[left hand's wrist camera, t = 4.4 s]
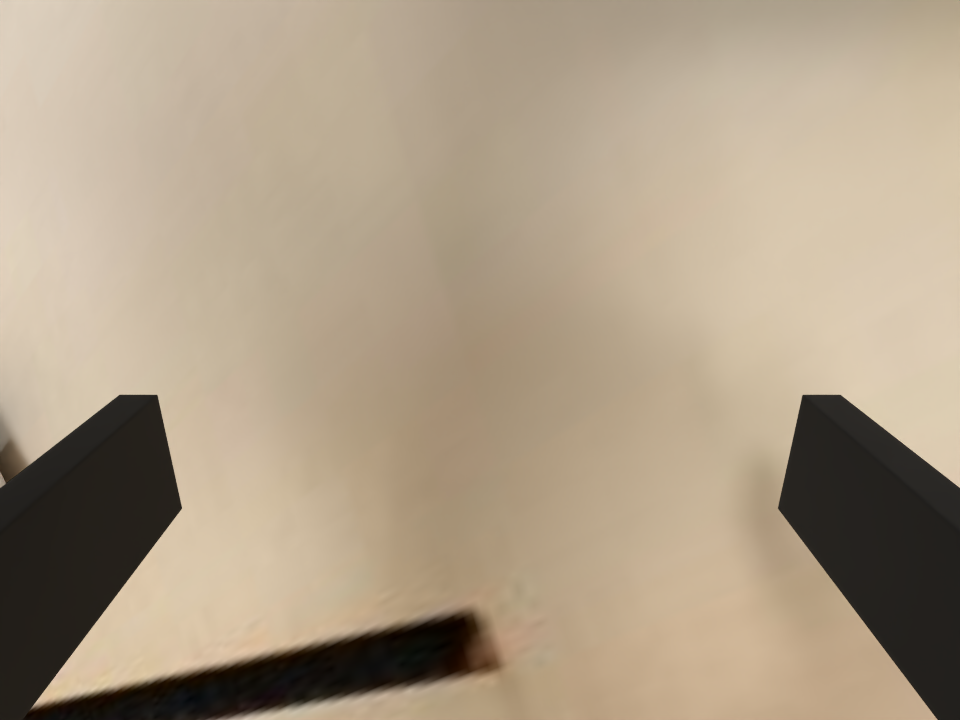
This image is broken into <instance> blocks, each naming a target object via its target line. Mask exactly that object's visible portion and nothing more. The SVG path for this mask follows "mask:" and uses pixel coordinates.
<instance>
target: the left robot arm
mask: <svg viewBox="0 0 960 720" xmlns="http://www.w3.org/2000/svg"><path fill="white" fill-rule="evenodd" d="M181 509H182V506H181V502H180V497H179V492H178V488H177V483H176V479H175V474H174V469H173V465H172V460H171V456H170V451H169V446H168V442H167V437H166V433H165V428H164V423H163V419H162V414H161V410H160V405H159V400H158V396H157V395H119V396H118V397H116V398H115V399H114V400H112V401H111V402H110V403H109V404H107V405H106V406H105V407H103V408H102V409H101V410H100V411H98V412H97V413H96V414H95V415H93V416H92V417H91V418H89V419H88V420H87V421H86V422H84V423H83V424H82V425H80V426H79V427H78V428H77V429H75V430H74V431H73V432H71V433H70V434H69V435H68V436H66V437H65V438H64V439H62V440H61V441H60V442H59V443H57V444H56V445H55V446H53V447H52V448H51V449H50V450H48V451H47V452H46V453H44V454H43V455H42V456H41V457H39V458H38V459H37V460H36V461H34V462H33V463H32V464H30V465H29V466H28V467H27V468H25V469H24V470H23V471H21V472H20V473H19V474H18V475H16V476H15V477H14V478H12V479H11V480H10V481H9V482H7V483H6V484H5V485H3V486H2V487H1V488H0V720H22V719H23V718H24V717H25V715H26V714H27V713H28V712H29V710H30V709H31V708H32V706H33V705H34V704H35V702H36V701H37V700H38V698H39V697H40V696H41V694H42V693H43V692H44V690H45V689H46V688H47V686H48V685H49V684H50V682H51V681H52V680H53V678H54V677H55V676H56V674H57V673H58V672H59V670H60V669H61V668H62V667H63V665H64V664H65V663H66V661H67V660H68V659H69V657H70V656H71V655H72V653H73V652H74V651H75V649H76V648H77V647H78V645H79V644H80V643H81V641H82V640H83V639H84V637H85V636H86V635H87V633H88V632H89V631H90V629H91V628H92V627H93V625H94V624H95V623H96V622H97V620H98V619H99V618H100V616H101V615H102V614H103V612H104V611H105V610H106V608H107V607H108V606H109V604H110V603H111V602H112V600H113V599H114V598H115V596H116V595H117V594H118V592H119V591H120V590H121V588H122V587H123V586H124V584H125V583H126V582H127V580H128V579H129V578H130V577H131V575H132V574H133V573H134V571H135V570H136V569H137V567H138V566H139V565H140V563H141V562H142V561H143V559H144V558H145V557H146V555H147V554H148V553H149V551H150V550H151V549H152V547H153V546H154V545H155V543H156V542H157V541H158V539H159V538H160V537H161V535H162V534H163V533H164V532H165V530H166V529H167V528H168V526H169V525H170V524H171V522H172V521H173V520H174V518H175V517H176V516H177V514H178V513H179V512H180V510H181ZM778 509H779V510H780V512H781V513H782V514H783V516H784V517H785V518H786V520H787V521H788V522H789V524H790V525H791V526H792V528H793V529H794V530H795V532H796V533H797V534H798V536H799V537H800V538H801V539H802V541H803V542H804V543H805V545H806V546H807V547H808V549H809V550H810V551H811V553H812V554H813V555H814V557H815V558H816V559H817V561H818V562H819V563H820V565H821V566H822V567H823V569H824V570H825V571H826V573H827V574H828V575H829V577H830V578H831V579H832V581H833V582H834V583H835V584H836V586H837V587H838V588H839V590H840V591H841V592H842V594H843V595H844V596H845V598H846V599H847V600H848V602H849V603H850V604H851V606H852V607H853V608H854V610H855V611H856V612H857V614H858V615H859V616H860V618H861V619H862V620H863V622H864V623H865V624H866V626H867V627H868V628H869V629H870V631H871V632H872V633H873V635H874V636H875V637H876V639H877V640H878V641H879V643H880V644H881V645H882V647H883V648H884V649H885V651H886V652H887V653H888V655H889V656H890V657H891V659H892V660H893V661H894V663H895V664H896V665H897V667H898V668H899V669H900V671H901V672H902V673H903V674H904V676H905V677H906V678H907V680H908V681H909V682H910V684H911V685H912V686H913V688H914V689H915V690H916V692H917V693H918V694H919V696H920V697H921V698H922V700H923V701H924V702H925V704H926V705H927V706H928V708H929V709H930V710H931V712H932V713H933V714H934V716H935V717H936V718H937V719H938V720H960V488H959V487H958V486H957V485H955V484H954V483H953V482H951V481H950V480H949V479H948V478H946V477H945V476H944V475H942V474H941V473H940V472H939V471H937V470H936V469H935V468H933V467H932V466H931V465H930V464H928V463H927V462H926V461H924V460H923V459H922V458H921V457H919V456H918V455H917V454H916V453H914V452H913V451H912V450H910V449H909V448H908V447H907V446H905V445H904V444H903V443H901V442H900V441H899V440H898V439H896V438H895V437H894V436H892V435H891V434H890V433H889V432H887V431H886V430H885V429H883V428H882V427H881V426H880V425H878V424H877V423H876V422H874V421H873V420H872V419H871V418H869V417H868V416H867V415H865V414H864V413H863V412H862V411H860V410H859V409H858V408H857V407H855V406H854V405H853V404H851V403H850V402H849V401H848V400H846V399H845V398H844V397H842V396H841V395H803V396H802V400H801V405H800V410H799V414H798V419H797V423H796V428H795V433H794V437H793V442H792V446H791V451H790V456H789V460H788V465H787V469H786V474H785V479H784V483H783V488H782V492H781V497H780V502H779V506H778Z"/></svg>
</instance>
